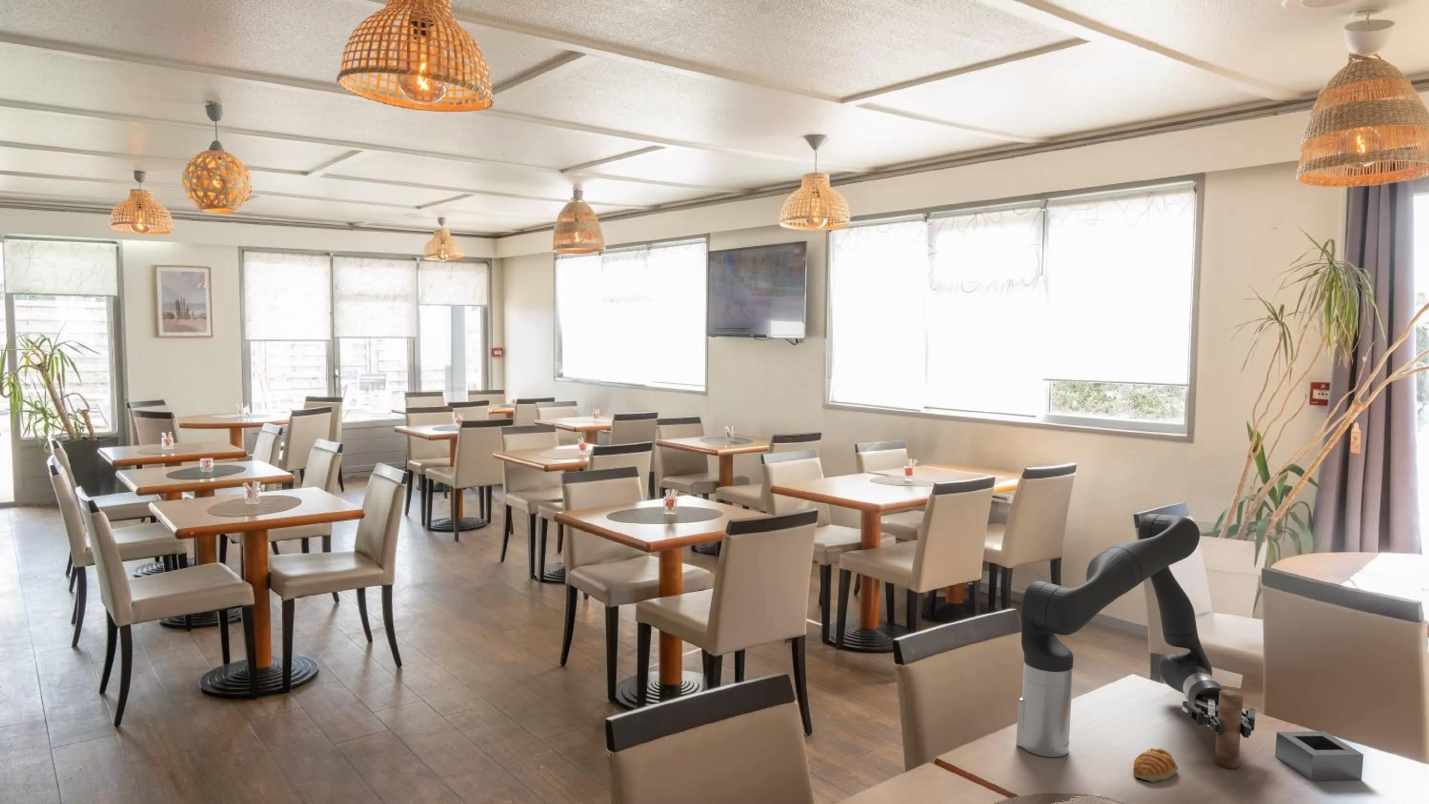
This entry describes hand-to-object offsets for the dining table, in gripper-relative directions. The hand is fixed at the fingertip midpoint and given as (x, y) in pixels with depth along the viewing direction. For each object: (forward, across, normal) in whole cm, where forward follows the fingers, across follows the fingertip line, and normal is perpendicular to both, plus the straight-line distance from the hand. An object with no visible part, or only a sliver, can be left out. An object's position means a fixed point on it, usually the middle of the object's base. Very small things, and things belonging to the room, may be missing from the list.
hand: (1233, 731), depth 175 cm
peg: (-3, 0, +8) cm, 8 cm away
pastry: (+5, -15, +8) cm, 17 cm away
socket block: (-6, +17, +8) cm, 20 cm away
